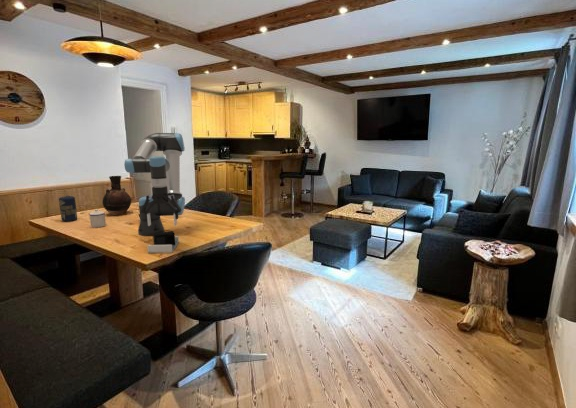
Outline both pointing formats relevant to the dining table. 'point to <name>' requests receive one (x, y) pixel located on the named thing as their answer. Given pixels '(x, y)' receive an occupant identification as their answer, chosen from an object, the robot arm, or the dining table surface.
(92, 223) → the teacup with lid
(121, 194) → the ceramic vessel
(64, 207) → the canister
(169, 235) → the digital camera
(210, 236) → the dining table surface
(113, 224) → the dining table surface
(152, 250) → the cradle
